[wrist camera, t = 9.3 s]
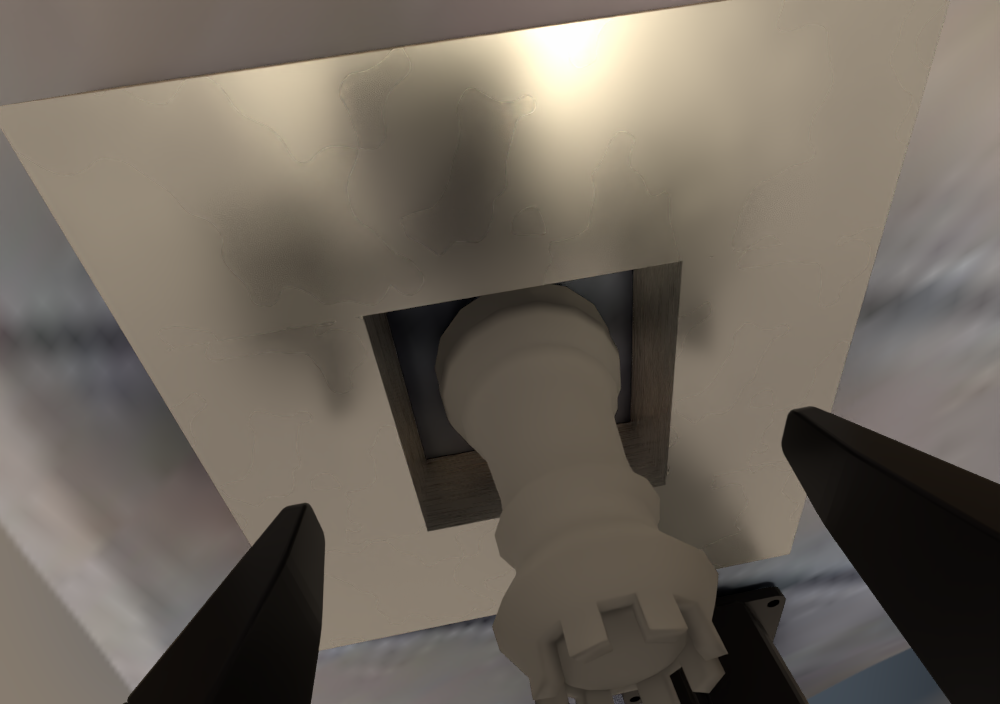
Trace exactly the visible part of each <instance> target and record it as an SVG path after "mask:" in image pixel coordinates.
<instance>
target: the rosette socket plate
mask: <svg viewBox="0 0 1000 704" xmlns="http://www.w3.org/2000/svg"><path fill="white" fill-rule="evenodd" d="M949 2H950V0H715V1H708V2H701V3H695V4H688V5H681V6H674V7H667V8H660V9H653V10H646V11H639V12H632V13H626V14H619V15H612V16H605V17H598V18H591V19H584V20H577V21H570V22H563V23H557V24H550V25H543V26H536V27H529V28H522V29H515V30H508V31H501V32H494V33H487V34H481V35H474V36H467V37H460V38H453V39H446V40H439V41H432V42H425V43H418V44H412V45H405V46H398V47H391V48H384V49H377V50H370V51H363V52H356V53H349V54H343V55H336V56H329V57H322V58H315V59H308V60H301V61H294V62H287V63H280V64H274V65H267V66H260V67H253V68H246V69H239V70H232V71H225V72H218V73H211V74H204V75H198V76H191V77H184V78H177V79H170V80H163V81H156V82H149V83H142V84H135V85H129V86H122V87H115V88H108V89H101V90H94V91H87V92H81V93H75V94H69V95H63V96H57V97H51V98H45V99H39V100H33V101H27V102H21V103H15V104H8V105H2V106H0V128H1V130H2V131H3V133H4V135H5V136H6V138H7V140H8V141H9V143H10V145H11V146H12V148H13V150H14V151H15V153H16V155H17V156H18V158H19V160H20V161H21V163H22V165H23V166H24V168H25V170H26V171H27V173H28V175H29V176H30V178H31V180H32V181H33V183H34V185H35V186H36V188H37V190H38V191H39V193H40V195H41V196H42V198H43V200H44V201H45V203H46V205H47V206H48V208H49V210H50V211H51V213H52V215H53V216H54V218H55V220H56V221H57V223H58V225H59V226H60V228H61V230H62V231H63V233H64V235H65V236H66V238H67V240H68V241H69V243H70V245H71V246H72V248H73V250H74V251H75V253H76V255H77V256H78V258H79V260H80V261H81V263H82V265H83V266H84V268H85V270H86V271H87V273H88V275H89V276H90V278H91V280H92V281H93V283H94V285H95V286H96V288H97V290H98V291H99V293H100V295H101V296H102V298H103V300H104V301H105V303H106V305H107V306H108V308H109V310H110V311H111V313H112V315H113V316H114V318H115V320H116V321H117V323H118V325H119V326H120V328H121V330H122V331H123V333H124V335H125V336H126V338H127V340H128V341H129V343H130V345H131V346H132V348H133V350H134V351H135V353H136V355H137V356H138V358H139V360H140V361H141V363H142V365H143V366H144V368H145V370H146V371H147V373H148V375H149V376H150V378H151V380H152V381H153V383H154V385H155V386H156V388H157V390H158V391H159V393H160V395H161V396H162V398H163V400H164V401H165V403H166V405H167V406H168V408H169V410H170V411H171V413H172V415H173V416H174V418H175V420H176V421H177V423H178V425H179V426H180V428H181V430H182V431H183V433H184V435H185V436H186V438H187V440H188V441H189V443H190V445H191V446H192V448H193V450H194V451H195V453H196V455H197V456H198V458H199V460H200V461H201V463H202V465H203V466H204V468H205V470H206V471H207V473H208V475H209V476H210V478H211V480H212V481H213V483H214V485H215V486H216V488H217V490H218V491H219V493H220V495H221V496H222V498H223V500H224V501H225V503H226V505H227V506H228V508H229V510H230V511H231V513H232V515H233V516H234V518H235V520H236V521H237V523H238V525H239V527H240V528H241V530H242V532H243V533H244V535H245V537H246V538H247V540H248V542H249V543H250V545H251V547H252V545H253V544H254V543H255V542H256V541H257V539H258V538H259V537H260V536H261V535H262V533H263V532H264V531H265V530H266V528H267V527H268V526H269V525H270V524H271V522H272V521H273V520H274V519H275V517H276V516H277V515H278V514H279V513H280V511H281V510H282V509H283V508H285V507H286V506H289V505H295V504H300V503H309V504H310V505H311V507H312V508H313V510H314V513H315V515H316V517H317V519H318V521H319V523H320V525H321V527H322V530H323V532H324V536H325V565H324V592H323V616H322V630H321V638H320V645H319V651H320V650H325V649H330V648H335V647H340V646H345V645H349V644H354V643H359V642H364V641H369V640H374V639H379V638H383V637H388V636H393V635H398V634H403V633H408V632H413V631H417V630H422V629H427V628H432V627H437V626H442V625H447V624H452V623H456V622H461V621H466V620H471V619H476V618H481V617H486V616H490V615H495V614H497V612H498V610H499V607H500V604H501V601H502V599H503V597H504V595H505V593H506V591H507V590H508V588H509V586H510V584H511V583H512V581H513V579H514V577H515V576H516V570H515V569H514V568H513V567H511V566H510V565H509V564H508V563H507V562H506V561H505V560H504V559H503V558H502V557H500V554H499V550H498V547H497V543H496V539H495V532H496V529H497V526H498V523H499V520H500V517H501V513H502V511H503V510H502V504H501V499H500V496H499V493H498V491H497V488H496V485H495V483H494V480H493V477H492V474H491V472H490V469H489V466H488V464H487V461H486V460H484V459H483V458H482V457H481V455H480V454H479V453H478V452H477V451H472V452H466V453H461V454H456V455H450V456H445V457H440V458H434V459H429V460H426V458H425V455H424V451H423V447H422V444H421V440H420V436H419V433H418V429H417V425H416V422H415V418H414V414H413V411H412V407H411V403H410V400H409V396H408V392H407V389H406V385H405V381H404V378H403V374H402V370H401V367H400V363H399V359H398V356H397V352H396V348H395V345H394V341H393V337H392V334H391V330H390V326H389V323H388V319H387V315H386V312H389V311H395V310H401V309H407V308H413V307H418V306H424V305H430V304H436V303H442V302H447V301H453V300H459V299H465V298H471V297H477V296H482V295H488V294H494V293H500V292H506V291H511V290H517V289H523V288H529V287H535V286H540V285H546V284H552V283H558V282H564V281H569V280H575V279H581V278H587V277H593V276H599V275H604V274H610V273H616V272H622V271H628V270H633V269H634V273H633V323H632V372H631V421H630V422H626V423H620V424H616V425H617V429H618V432H619V435H620V439H621V442H622V445H623V449H624V452H625V456H626V459H627V461H628V463H629V465H630V467H631V469H632V471H633V472H634V473H636V474H638V475H640V476H642V477H644V478H647V480H648V481H649V482H650V484H651V485H652V487H653V488H654V490H655V491H656V493H657V494H658V496H659V497H660V520H659V522H658V525H657V526H658V529H659V531H661V532H663V533H665V534H667V535H669V536H671V537H674V538H676V539H678V540H680V541H682V542H684V543H687V544H689V545H691V546H693V547H695V548H697V549H699V550H702V551H704V553H705V554H706V556H707V557H708V559H709V560H710V562H711V563H712V565H713V566H714V568H715V569H719V568H724V567H729V566H734V565H738V564H743V563H748V562H753V561H758V560H763V559H768V558H772V557H777V556H782V555H787V554H790V551H791V547H792V544H793V540H794V537H795V534H796V530H797V527H798V523H799V520H800V516H801V513H802V509H803V506H804V502H805V499H806V496H807V494H806V493H805V491H804V489H803V487H802V486H801V484H800V482H799V480H798V478H797V477H796V475H795V473H794V471H793V470H792V468H791V466H790V464H789V463H788V461H787V459H786V457H785V456H784V453H783V451H782V447H781V440H782V436H783V431H784V427H785V423H786V418H787V415H788V413H789V412H790V411H791V410H793V409H797V408H802V407H807V406H814V407H817V408H819V409H822V410H824V411H827V412H829V413H831V409H832V406H833V402H834V399H835V396H836V392H837V389H838V385H839V382H840V378H841V375H842V371H843V368H844V365H845V361H846V358H847V354H848V351H849V347H850V344H851V340H852V337H853V334H854V330H855V327H856V323H857V320H858V316H859V313H860V309H861V306H862V302H863V299H864V296H865V292H866V289H867V285H868V282H869V278H870V275H871V271H872V268H873V265H874V261H875V258H876V254H877V251H878V247H879V244H880V240H881V237H882V234H883V230H884V227H885V223H886V220H887V216H888V213H889V209H890V206H891V202H892V199H893V196H894V192H895V189H896V185H897V182H898V178H899V175H900V171H901V168H902V165H903V161H904V158H905V154H906V151H907V147H908V144H909V140H910V137H911V134H912V130H913V127H914V123H915V120H916V116H917V113H918V109H919V106H920V102H921V99H922V96H923V92H924V89H925V85H926V82H927V78H928V75H929V71H930V68H931V65H932V61H933V58H934V54H935V51H936V47H937V44H938V40H939V37H940V33H941V30H942V27H943V23H944V20H945V16H946V13H947V9H948V6H949Z"/></svg>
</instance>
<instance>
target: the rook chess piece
mask: <svg viewBox="0 0 1000 704" xmlns="http://www.w3.org/2000/svg"><path fill="white" fill-rule="evenodd" d="M435 372H436V375H437V379H438V382H439V392H440V395H441V399H442V402H443V406H444V409H445V412H446V416H447V418H448V420H449V422H450V423H451V425H452V427H453V428H454V429H455V430H456V431H457V432H458V433H459V434H460V435H461V436H462V437H463V438H464V439H465V440H466V441H467V443H468V444H469V445H470V446H471V447H473V448H474V449H475V450H476V451H477V452H478V453H479V454H480V455H481V457H482V458H483V459H484V460H486V461H487V464H488V466H489V469H490V472H491V474H492V477H493V480H494V483H495V485H496V488H497V491H498V493H499V496H500V499H501V504H502V510H503V511H502V513H501V517H500V520H499V523H498V526H497V529H496V532H495V539H496V543H497V547H498V550H499V554H500V557H502V558H503V559H504V560H505V561H506V562H507V563H508V564H509V565H510V566H511V567H513V568H514V569H515V570H516V576H515V577H514V579H513V581H512V583H511V584H510V586H509V588H508V590H507V591H506V593H505V595H504V597H503V599H502V601H501V604H500V607H499V610H498V612H497V615H496V618H495V621H494V623H493V626H492V628H493V631H494V634H495V637H496V640H497V643H498V646H499V649H500V651H501V652H502V653H503V654H504V655H505V656H506V657H507V658H508V659H509V660H510V661H511V662H513V663H514V664H515V665H516V666H517V667H518V668H519V669H520V670H521V671H522V672H523V673H524V674H525V675H526V676H528V677H529V680H530V686H531V692H532V697H533V700H535V704H569V701H568V697H571V698H575V700H576V704H614V701H613V698H612V696H613V695H617V694H621V693H626V692H630V691H634V690H638V691H639V694H640V697H641V700H642V703H643V704H680V701H679V699H678V696H677V694H676V691H675V688H674V686H673V683H672V681H671V678H670V675H671V674H673V673H674V672H675V671H677V670H678V669H679V668H681V667H682V668H683V671H684V673H685V675H686V678H687V680H688V683H689V685H690V687H691V690H692V692H702V693H710V692H711V690H712V689H713V688H714V687H715V685H716V684H717V683H718V682H719V680H720V679H721V678H722V677H723V675H724V674H725V671H724V669H723V667H722V665H721V663H720V661H719V659H718V657H720V656H722V655H725V654H728V652H727V650H726V648H725V646H724V644H723V642H722V640H721V638H720V636H719V635H718V633H717V631H716V629H715V627H714V625H713V623H712V616H713V611H714V606H715V601H716V593H717V584H718V575H719V574H718V572H717V571H716V569H715V568H714V566H713V565H712V563H711V562H710V560H709V559H708V557H707V556H706V554H705V553H704V551H702V550H699V549H697V548H695V547H693V546H691V545H689V544H687V543H684V542H682V541H680V540H678V539H676V538H674V537H671V536H669V535H667V534H665V533H663V532H661V531H659V529H658V526H657V525H658V522H659V520H660V497H659V496H658V494H657V493H656V491H655V490H654V488H653V487H652V485H651V484H650V482H649V481H648V480H647V478H644V477H642V476H640V475H638V474H636V473H634V472H633V471H632V469H631V467H630V465H629V463H628V461H627V459H626V456H625V452H624V449H623V445H622V442H621V439H620V435H619V432H618V429H617V425H616V422H615V418H614V416H615V414H616V411H617V409H618V403H617V397H618V395H619V392H620V390H621V379H620V360H619V351H618V348H617V347H616V345H615V343H614V342H613V340H612V338H611V337H610V335H609V329H608V327H607V326H606V324H605V322H604V321H603V319H602V317H601V316H600V314H599V312H598V311H597V309H596V307H595V306H594V304H592V303H591V302H589V301H588V300H586V299H585V298H583V297H581V296H580V295H578V294H577V293H575V292H574V291H572V290H571V289H569V288H567V287H565V286H559V285H553V284H546V285H540V286H535V287H529V288H523V289H517V290H511V291H506V292H500V293H494V294H488V295H482V296H481V297H479V298H478V299H476V300H474V301H473V302H471V303H470V304H468V305H467V306H465V307H464V308H462V309H461V310H460V311H459V312H458V314H457V315H456V317H455V318H454V319H453V321H452V322H451V324H450V325H449V326H448V328H447V329H446V331H445V332H444V333H443V335H442V336H441V338H440V342H439V348H438V353H437V358H436V363H435Z"/></svg>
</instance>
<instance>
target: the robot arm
mask: <svg viewBox="0 0 1000 704" xmlns="http://www.w3.org/2000/svg"><path fill="white" fill-rule="evenodd" d="M781 447H782V451H783V453H784V456H785V457H786V459H787V461H788V463H789V464H790V466H791V468H792V470H793V471H794V473H795V475H796V477H797V478H798V480H799V482H800V484H801V486H802V487H803V489H804V491H805V493H806V494H807V496H808V498H809V500H810V501H811V503H812V505H813V507H814V508H815V510H816V512H817V514H818V515H819V517H820V518H821V520H822V522H823V523H824V525H825V526H826V528H827V529H828V531H829V532H830V534H831V535H832V537H833V538H834V540H835V541H836V542H837V544H838V545H839V547H840V548H841V549H842V551H843V552H844V554H845V555H846V556H847V558H848V559H849V561H850V562H851V564H852V565H853V566H854V568H855V569H856V571H857V572H858V573H859V575H860V576H861V578H862V579H863V580H864V582H865V583H866V585H867V586H868V587H869V589H870V590H871V592H872V593H873V594H874V596H875V597H876V599H877V600H878V601H879V603H880V604H881V606H882V607H883V608H884V610H885V611H886V613H887V614H888V615H889V617H890V618H891V620H892V621H893V623H894V624H895V625H896V627H897V628H898V630H899V631H900V632H901V634H902V635H903V637H904V638H905V639H906V641H907V642H908V644H909V645H910V646H911V648H912V649H913V651H914V652H915V653H916V655H917V656H918V658H919V659H920V660H921V662H922V663H923V665H924V666H925V667H926V669H927V670H928V672H929V673H930V674H931V676H932V677H933V679H934V680H935V681H936V683H937V684H938V686H939V687H940V689H941V690H942V691H943V693H944V694H945V696H946V697H947V698H948V700H949V701H950V703H951V704H1000V484H998V483H996V482H993V481H991V480H988V479H986V478H984V477H981V476H979V475H977V474H974V473H972V472H969V471H967V470H965V469H962V468H960V467H957V466H955V465H953V464H950V463H948V462H946V461H943V460H941V459H938V458H936V457H934V456H931V455H929V454H927V453H924V452H922V451H919V450H917V449H915V448H912V447H910V446H908V445H905V444H903V443H900V442H898V441H896V440H893V439H891V438H888V437H886V436H884V435H881V434H879V433H877V432H874V431H872V430H869V429H867V428H865V427H862V426H860V425H858V424H855V423H853V422H850V421H848V420H846V419H843V418H841V417H839V416H836V415H834V414H831V413H829V412H827V411H824V410H822V409H819V408H817V407H814V406H807V407H802V408H797V409H793V410H791V411H790V412H789V413H788V415H787V418H786V423H785V427H784V431H783V436H782V440H781ZM324 565H325V536H324V532H323V530H322V527H321V525H320V523H319V521H318V519H317V517H316V515H315V513H314V510H313V508H312V507H311V505H310V504H309V503H300V504H295V505H289V506H286V507H285V508H283V509H282V510H281V511H280V513H279V514H278V515H277V516H276V517H275V519H274V520H273V521H272V522H271V524H270V525H269V526H268V527H267V528H266V530H265V531H264V532H263V533H262V535H261V536H260V537H259V538H258V539H257V541H256V542H255V543H254V544H253V545H252V547H251V548H250V549H249V550H248V552H247V553H246V554H245V555H244V556H243V558H242V559H241V560H240V561H239V563H238V564H237V565H236V566H235V567H234V569H233V570H232V571H231V572H230V574H229V575H228V576H227V577H226V578H225V580H224V581H223V582H222V583H221V585H220V586H219V587H218V588H217V589H216V591H215V592H214V593H213V594H212V595H211V597H210V598H209V599H208V600H207V602H206V603H205V604H204V605H203V606H202V608H201V609H200V610H199V611H198V613H197V614H196V615H195V616H194V617H193V619H192V620H191V621H190V622H189V624H188V625H187V626H186V627H185V628H184V630H183V631H182V632H181V633H180V634H179V636H178V637H177V638H176V639H175V641H174V642H173V643H172V644H171V645H170V647H169V648H168V649H167V650H166V652H165V653H164V654H163V655H162V656H161V658H160V659H159V660H158V661H157V663H156V664H155V665H154V666H153V667H152V669H151V670H150V671H149V672H148V674H147V675H146V676H145V677H144V678H143V680H142V681H141V682H140V683H139V684H138V686H137V687H136V688H135V689H134V691H133V692H132V693H131V694H130V696H129V697H128V700H127V702H128V703H127V702H126V703H123V704H311V699H312V692H313V685H314V679H315V672H316V665H317V659H318V652H319V645H320V638H321V630H322V616H323V592H324ZM785 601H786V598H785V597H784V595H783V594H782V592H781V591H780V589H779V588H778V587H774V586H773V587H766V588H761V589H757V590H752V591H747V592H742V593H738V594H733V595H728V596H723V597H718V598H716V601H715V606H714V611H713V616H712V623H713V625H714V627H715V629H716V631H717V633H718V635H719V636H720V638H721V640H722V642H723V644H724V646H725V648H726V650H727V652H728V654H725V655H722V656H720V657H718V659H719V661H720V663H721V665H722V667H723V669H724V671H725V674H724V675H723V677H722V678H721V679H720V680H719V682H718V683H717V684H716V685H715V687H714V688H713V689H712V690H711V692H710V693H702V692H692V690H691V687H690V685H689V683H688V680H687V678H686V675H685V673H684V671H683V668H682V667H681V668H679V669H678V670H677V671H675V672H674V673H673V674H671V675H670V678H671V681H672V683H673V686H674V688H675V691H676V694H677V696H678V699H679V701H680V704H809V703H808V701H807V700H806V698H805V696H804V694H803V693H802V691H801V689H800V688H799V686H798V684H797V683H796V681H795V679H794V677H793V676H792V674H791V672H790V671H789V669H788V667H787V666H786V664H785V662H784V660H783V659H782V657H781V655H780V654H779V652H778V650H777V649H776V647H775V645H774V644H773V640H774V637H775V634H776V630H777V627H778V624H779V621H780V617H781V614H782V611H783V608H784V604H785ZM622 696H623V699H624V702H625V704H640V703H642V700H641V697H640V694H639V691H638V690H634V691H630V692H626V693H622Z"/></svg>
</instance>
